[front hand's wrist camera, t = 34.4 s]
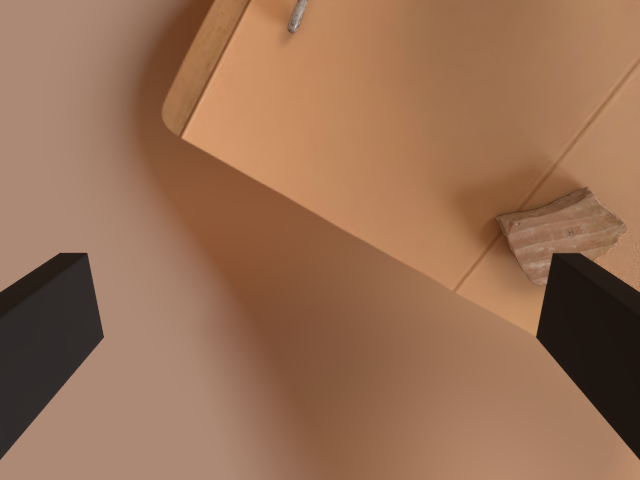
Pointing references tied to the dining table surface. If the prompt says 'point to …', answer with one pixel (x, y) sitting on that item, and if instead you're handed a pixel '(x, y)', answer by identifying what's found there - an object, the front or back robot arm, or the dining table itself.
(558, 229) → the stone
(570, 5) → the dining table surface
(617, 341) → the front robot arm
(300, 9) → the putty knife
